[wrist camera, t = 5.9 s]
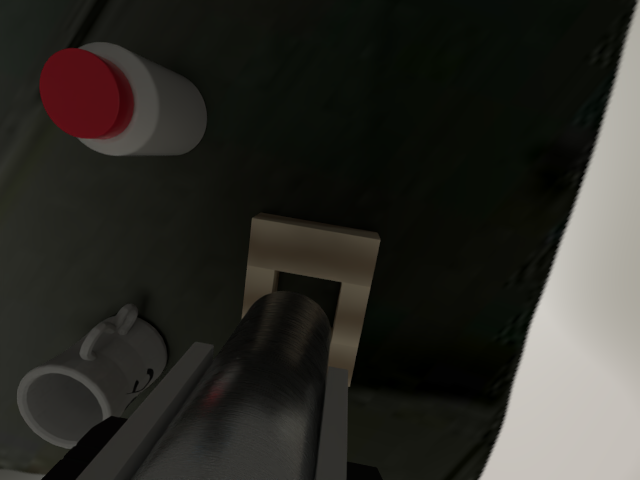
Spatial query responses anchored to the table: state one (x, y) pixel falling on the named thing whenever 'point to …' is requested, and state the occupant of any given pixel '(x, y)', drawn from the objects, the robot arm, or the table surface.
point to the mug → (92, 378)
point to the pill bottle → (122, 102)
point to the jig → (316, 271)
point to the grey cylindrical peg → (253, 401)
